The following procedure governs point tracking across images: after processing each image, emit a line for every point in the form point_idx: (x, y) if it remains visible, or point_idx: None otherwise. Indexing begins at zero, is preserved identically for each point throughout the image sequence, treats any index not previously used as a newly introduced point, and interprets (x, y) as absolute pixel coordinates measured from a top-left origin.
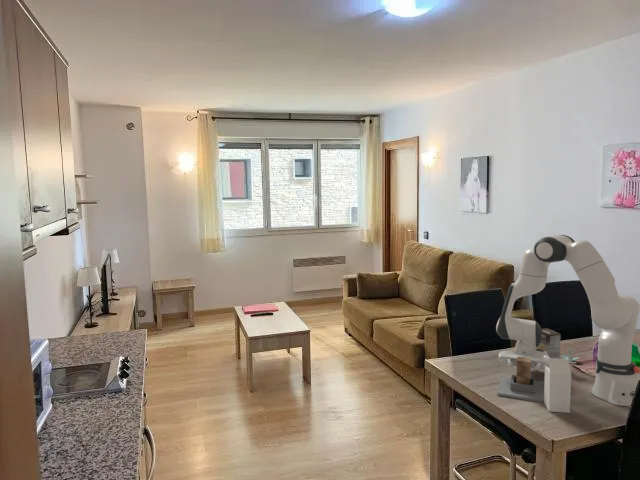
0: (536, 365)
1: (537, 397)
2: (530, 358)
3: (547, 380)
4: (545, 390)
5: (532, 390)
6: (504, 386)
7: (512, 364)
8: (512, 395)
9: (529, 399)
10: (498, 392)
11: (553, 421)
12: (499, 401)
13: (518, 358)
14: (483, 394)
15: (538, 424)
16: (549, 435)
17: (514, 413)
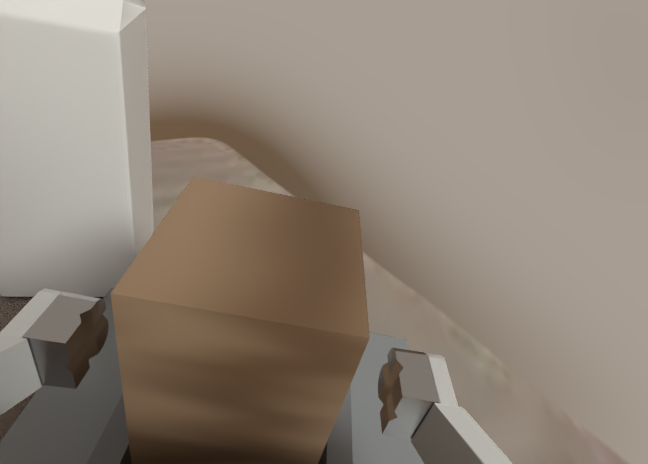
0: (46, 318)
1: None
2: (127, 274)
3: (140, 104)
4: (138, 202)
5: None
6: (386, 459)
7: (393, 350)
8: None
9: None
10: (402, 346)
11: (169, 185)
12: (376, 291)
13: (342, 263)
14: (472, 349)
15: (232, 176)
16: (215, 145)
17: None
